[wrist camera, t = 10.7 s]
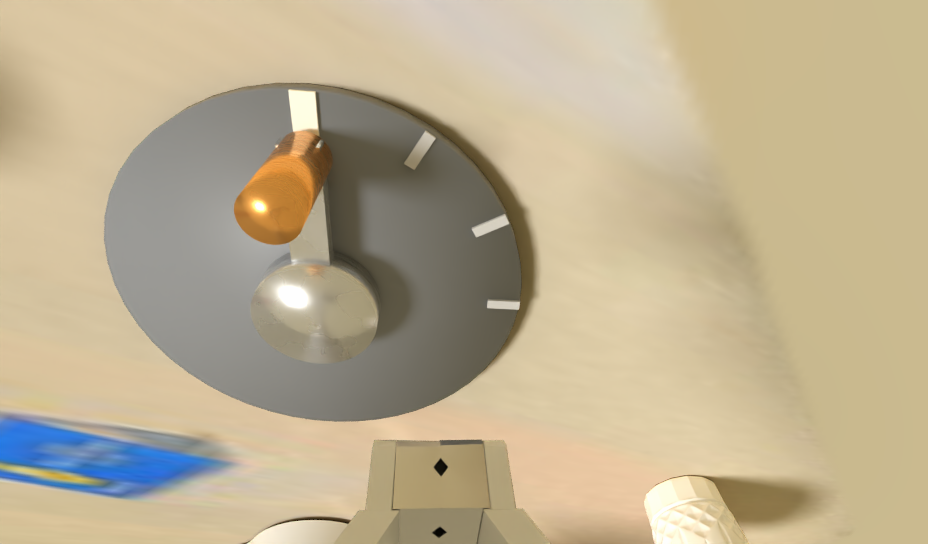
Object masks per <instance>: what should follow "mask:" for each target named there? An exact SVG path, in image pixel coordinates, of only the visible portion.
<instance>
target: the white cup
mask: <svg viewBox="0 0 928 544" xmlns="http://www.w3.org/2000/svg"><path fill="white" fill-rule="evenodd" d="M644 506H645V509H646V512H647V516H648V519H649V522H650V525H651V528H652V534H653V540H654V543H655V544H749V542H748V540H747V539H746V537H745V535H744V533H743V531H742V529H741V528H740V526H739V525H738V523H737V521H736V520H735V518H734V516H733V514H732V513H731V512H730V511H729V509H728V507H727V506H726V504H725V503H724V501H723V499H722V497H721V495H720V493H719V491H718V489H717V487H716V485H715V484H714V482H712V481H710V480H708V479H706V478H704V477H699V476H682V477H677V478H672V479H669V480H666V481H664V482H662V483H660V484H658V485H656V486H655V487H653V488H652V489H651V490H650V491H649V492H648V493H647V494H646V497H645V501H644Z"/></svg>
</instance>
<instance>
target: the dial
mask: <svg viewBox="0 0 928 544" xmlns="http://www.w3.org/2000/svg"><path fill="white" fill-rule="evenodd" d="M332 164H333V157H332V153H331V150H330V148H329V146H328V145H327V144H326V142H325V141H324V140H323V139H322V138H320V137H319V136H317V135H316V134H314V133H311V132H307V131H294V132H291V133H289V134H287V135H286V136H285V137H280V139H279V140H278V141H277V142H276V144H275V149H274V150H273V152H272V153H271V154H270V156H269V157H268V158H267V159H266V161H265V162H264V163H263V165H262V166H261V167H260V168H259V170H258V171H257V172H256V174H255V175H254V176H253V177H252V179H251V180H250V181H249V183H248V184H247V185H246V186H245V188H244V189H243V190H242V192H241V193H240V194H239V195H238V197H237V198H236V201H235V204H234V215H235V218H236V221H237V223H238V224H239V226H240V227H241V229H242V230H243V231H244V232H245V233H246V234H247V235H249V236H250V237H252V238H253V239H255V240H257V241H259V242H262V243H265V244H270V245H281V244H286V243H289V248H290V253H287V254H285V255H283V256H281V257H279V258H278V259H277V260H275V261H274V262H273V263H272V264H271V265H270V266H269V268H268V269H267V270H266V272H265V274H264V276H263V278H262V280H261V282H260V283H259V285H258V287H257V289H256V291H255V293H254V295H253V297H252V301H251V307H250V312H251V318H252V321H253V324H254V326H255V328H256V330H257V331H258V333H259V334H260V336H261V337H262V338H263V339H264V340H265V341H266V342H267V343H268V344H269V345H270V346H272V347H273V348H274V349H276V350H277V351H279V352H281V353H283V354H285V355H287V356H289V357H291V358H294V359H297V360H301V361H305V362H310V363H336V362H341V361H344V360H348V359H350V358H352V357H355V356H356V355H358V354H360V353H361V352H362V351H364V350H365V349H366V348H367V347H368V346H369V345H370V343H371V342H372V340H373V338H374V336H375V334H376V330H377V325H378V319H379V313H380V307H381V295H380V291H379V288H378V286H377V283H376V282H375V280H374V278H373V277H372V276H371V274H370V273H369V272H368V271H367V270H366V269H365V268H364V267H363V266H362V265H360V264H359V263H358V262H356V261H355V260H353V259H351V258H350V257H347V256H345V255H343V254H340V253H337V252H334V251H333V243H332V231H331V219H330V207H329V194H328V182H327V176H328V174H329V172H330V170H331V168H332Z"/></svg>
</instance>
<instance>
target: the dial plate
mask: <svg viewBox="0 0 928 544" xmlns="http://www.w3.org/2000/svg"><path fill="white" fill-rule="evenodd" d="M294 131H307V132H311V133H314V134H316V135H317V136H319V137H320V138H322V139H323V140H324V141H325V142H326V144H327V145H328V146H329V148H330V150H331V153H332V157H333V164H332V168H331V170H330V172H329V174H328V176H327V182H328V194H329V207H330V219H331V231H332V243H333V251H334V252H337V253H340V254H343V255H345V256H347V257H350V258H351V259H353V260H355V261H356V262H358V263H359V264H360V265H362V266H363V267H364V268H365V269H366V270H367V271H368V272H369V273H370V274H371V276H372V277H373V278H374V280H375V282H376V283H377V286H378V288H379V291H380V295H381V307H380V313H379V319H378V325H377V330H376V334H375V336H374V338H373V340H372V342H371V343H370V345H369V346H368V347H367V348H366V349H365V350H364V351H362V352H361V353H360V354H358V355H356V356H355V357H352V358H350V359H348V360H344V361H341V362H336V363H310V362H305V361H301V360H297V359H294V358H291V357H289V356H287V355H285V354H283V353H281V352H279V351H277V350H276V349H274V348H273V347H272V346H270V345H269V344H268V343H267V342H266V341H265V340H264V339H263V338H262V337H261V336H260V334H259V333H258V331H257V330H256V328H255V326H254V324H253V321H252V318H251V312H250V307H251V301H252V297H253V295H254V293H255V291H256V289H257V287H258V285H259V283H260V282H261V280H262V278H263V276H264V274H265V272H266V270H267V269H268V268H269V266H270V265H271V264H272V263H273V262H274V261H275V260H277V259H278V258H279V257H281V256H283V255H285V254H287V253H290V248H289V243H286V244H281V245H270V244H265V243H262V242H259V241H257V240H255V239H253V238H252V237H250V236H249V235H247V234H246V233H245V232H244V231H243V230H242V229H241V227H240V226H239V224H238V223H237V221H236V218H235V215H234V204H235V201H236V198H237V197H238V195H239V194H240V193H241V192H242V190H243V189H244V188H245V186H246V185H247V184H248V183H249V181H250V180H251V179H252V177H253V176H254V175H255V174H256V172H257V171H258V170H259V168H260V167H261V166H262V165H263V163H264V162H265V161H266V159H267V158H268V157H269V156H270V154H271V153H272V152H273V150H274V149H275V144H276V142H277V141H278V140H279V139H280V137H285V136H286V135H287V134H289V133H291V132H294ZM104 241H105V248H106V254H107V261H108V265H109V268H110V271H111V274H112V277H113V280H114V283H115V286H116V288H117V290H118V292H119V294H120V296H121V298H122V300H123V302H124V304H125V306H126V307H127V309H128V310H129V312H130V313H131V315H132V316H133V318H134V319H135V321H136V322H137V324H138V325H139V327H140V328H141V329H142V330H143V331H144V332H145V334H146V335H147V336H148V337H149V338H150V339H151V341H152V342H153V343H154V344H155V345H156V346H157V347H158V348H159V349H161V350H162V351H163V352H164V353H165V354H166V355H167V356H168V357H169V358H170V359H171V360H173V361H174V362H175V363H176V364H178V365H179V366H180V367H182V368H183V369H184V370H186V371H187V372H188V373H190V374H191V375H193V376H194V377H196V378H197V379H199V380H201V381H202V382H204V383H205V384H207V385H209V386H211V387H212V388H214V389H216V390H218V391H220V392H222V393H224V394H226V395H228V396H230V397H233V398H235V399H237V400H240V401H242V402H245V403H247V404H249V405H252V406H256V407H259V408H262V409H265V410H268V411H271V412H275V413H279V414H284V415H288V416H292V417H298V418H305V419H312V420H322V421H365V420H376V419H382V418H387V417H393V416H398V415H402V414H405V413H409V412H412V411H416V410H419V409H421V408H424V407H426V406H429V405H431V404H434V403H436V402H438V401H440V400H442V399H444V398H446V397H448V396H450V395H452V394H453V393H455V392H456V391H458V390H459V389H461V388H462V387H464V386H465V385H467V384H468V383H470V382H471V381H472V380H473V379H474V378H475V377H476V376H478V375H479V374H480V373H481V372H482V371H483V370H484V369H485V368H486V367H487V366H488V365H489V363H490V362H491V361H492V360H493V359H494V358H495V357H496V355H497V354H498V352H499V351H500V349H501V348H502V346H503V344H504V343H505V341H506V340H507V337H508V335H509V333H510V331H511V329H512V327H513V324H514V321H515V318H516V314H517V311H518V310H519V306H520V293H521V264H520V259H519V254H518V249H517V245H516V240H515V236H514V231H513V228H512V225H511V223H510V220H509V218H508V215H507V212H506V210H505V207H504V206H503V204H502V202H501V200H500V198H499V197H498V195H497V193H496V191H495V190H494V188H493V186H492V185H491V183H490V182H489V181H488V180H487V178H486V177H485V176H484V174H483V173H482V172H481V170H480V169H479V168H478V167H477V165H476V164H475V163H474V162H473V161H472V160H471V159H470V158H469V157H468V156H467V155H466V154H465V153H464V152H463V151H462V150H461V149H460V148H459V147H458V146H457V145H456V144H455V143H453V142H452V141H451V140H449V139H448V138H447V137H445V136H444V135H443V134H441V133H440V132H439V131H437V130H436V129H435V128H433V127H432V126H431V125H429V124H427V123H425V122H424V121H422V120H420V119H419V118H417V117H415V116H413V115H412V114H410V113H408V112H406V111H405V110H403V109H400V108H398V107H395V106H393V105H391V104H388V103H386V102H383V101H381V100H379V99H376V98H374V97H371V96H367V95H363V94H360V93H356V92H353V91H349V90H346V89H342V88H336V87H329V86H322V85H315V84H306V83H272V84H264V85H256V86H248V87H242V88H238V89H235V90H231V91H228V92H224V93H220V94H217V95H214V96H211V97H209V98H207V99H205V100H203V101H200V102H198V103H196V104H194V105H192V106H189V107H187V108H186V109H184V110H183V111H181V112H180V113H178V114H177V115H175V116H174V117H173V118H171V119H170V120H168V121H167V122H165V123H164V124H162V125H161V126H159V127H158V128H156V129H155V130H154V131H152V132H151V133H150V134H149V135H148V136H147V137H146V138H145V139H144V140H143V141H142V142H141V143H140V144H139V145H138V146H137V147H136V148H135V149H134V150H133V152H132V153H131V154H130V156H129V157H128V159H127V160H126V162H125V163H124V165H123V166H122V168H121V169H120V171H119V173H118V175H117V177H116V180H115V182H114V184H113V187H112V189H111V191H110V194H109V199H108V203H107V208H106V213H105V227H104Z"/></svg>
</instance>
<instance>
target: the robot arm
mask: <svg viewBox="0 0 928 544" xmlns="http://www.w3.org/2000/svg"><path fill="white" fill-rule="evenodd" d="M247 544H551V543H550V542H549V541H548V539H547V538H546V537H545V536H544V534H543V533H542V532H541V531H540V530H539V528H538V527H537V526H536V525H535V523H534V522H533V521H532V520H531V518H530V517H529V516H528V515H527V513H526V512H525V511H524V510H523V509H517V508H516V504H515V498H514V491H513V485H512V479H511V472H510V466H509V460H508V453H507V447H506V444H505V442H504V440H485V441H482V440H440V441H404V440H374V443H373V447H372V455H371V464H370V473H369V482H368V491H367V499H366V508H365V510H364V511H358V512H357V513H356V515H355V516H354V517H353V519H352V520H351V521H350V523H349V524H347V523H342V522H335V521H326V520H302V521H293V522H287V523H283V524H279V525H276V526H273V527H270V528H268V529H266V530H264V531H262V532H261V533H259V534H258V535H257V536H256V537H255V538H254V539H253V540H251V541H250V542H249V543H247Z"/></svg>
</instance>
